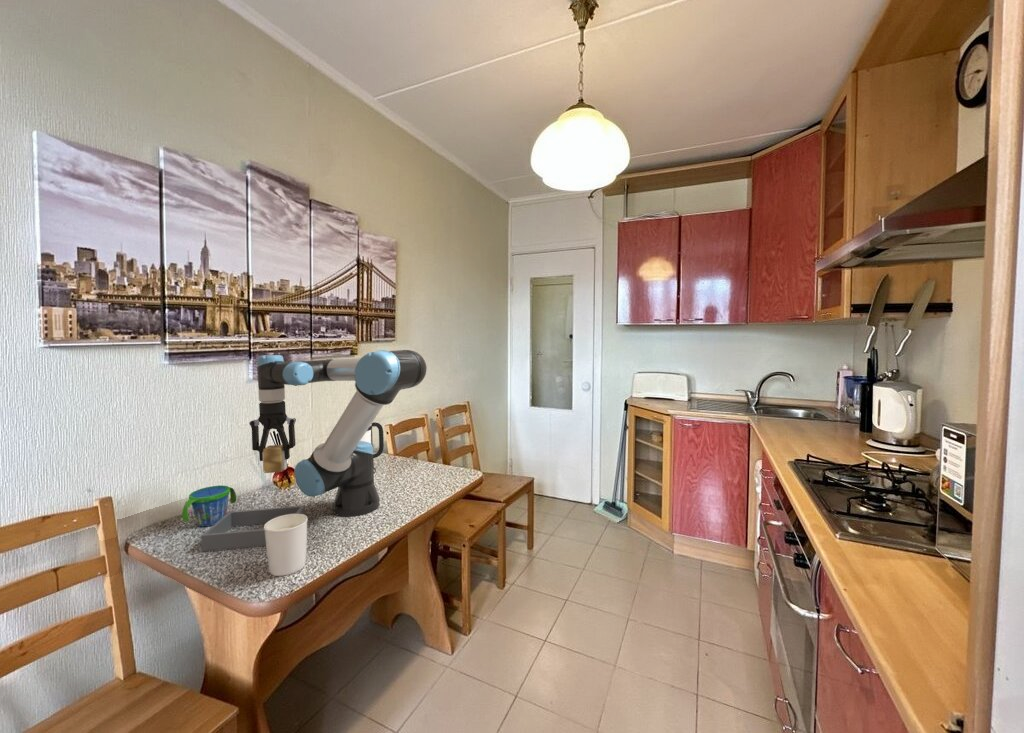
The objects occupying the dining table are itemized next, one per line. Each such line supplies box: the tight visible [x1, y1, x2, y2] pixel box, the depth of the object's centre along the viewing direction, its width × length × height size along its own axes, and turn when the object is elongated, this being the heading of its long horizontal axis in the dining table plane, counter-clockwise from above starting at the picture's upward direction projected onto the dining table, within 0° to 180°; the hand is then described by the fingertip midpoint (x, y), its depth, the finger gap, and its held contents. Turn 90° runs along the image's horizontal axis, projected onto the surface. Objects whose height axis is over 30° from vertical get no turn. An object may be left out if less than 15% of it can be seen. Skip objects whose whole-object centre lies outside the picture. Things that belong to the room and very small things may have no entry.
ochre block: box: [263, 444, 284, 474], centre depth 135 cm, size 5×5×8 cm
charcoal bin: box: [200, 504, 306, 552], centre depth 121 cm, size 22×16×4 cm
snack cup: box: [181, 484, 237, 527], centre depth 128 cm, size 16×10×10 cm
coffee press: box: [361, 421, 385, 473], centre depth 176 cm, size 17×16×30 cm
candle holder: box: [263, 514, 309, 577], centre depth 103 cm, size 10×10×12 cm
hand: (275, 469), depth 135 cm, fingers closed on ochre block, 5 cm apart
